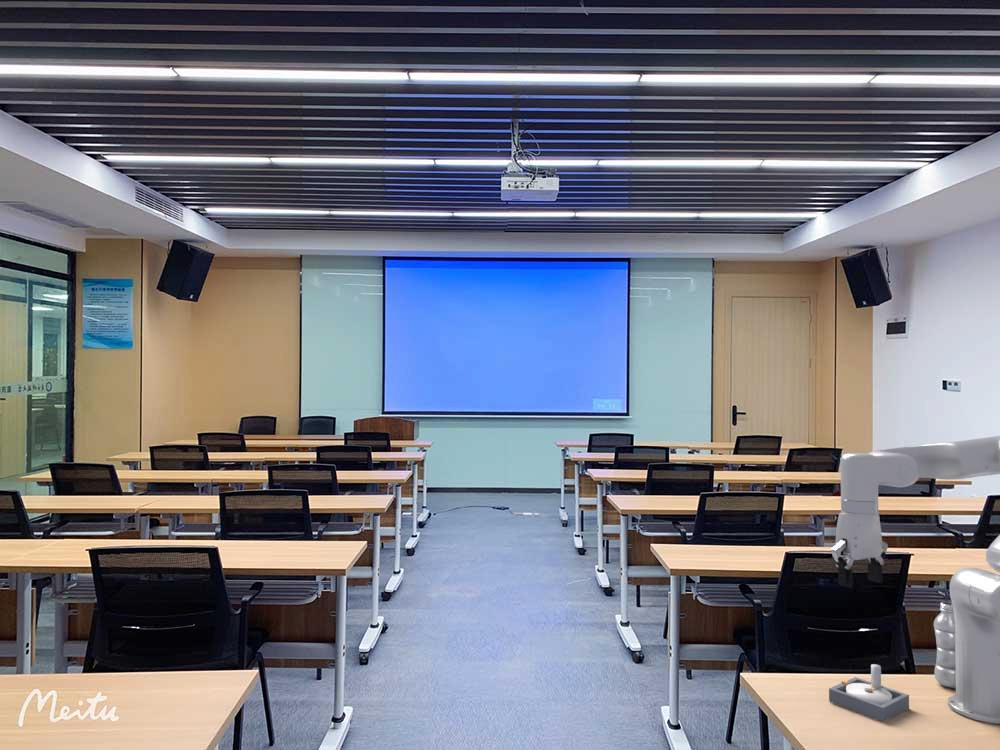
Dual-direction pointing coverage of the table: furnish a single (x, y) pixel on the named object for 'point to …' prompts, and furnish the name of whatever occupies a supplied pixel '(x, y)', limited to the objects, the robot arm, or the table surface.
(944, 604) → the plastic bottle
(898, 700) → the housing
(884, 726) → the table surface
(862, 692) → the white crank wheel
